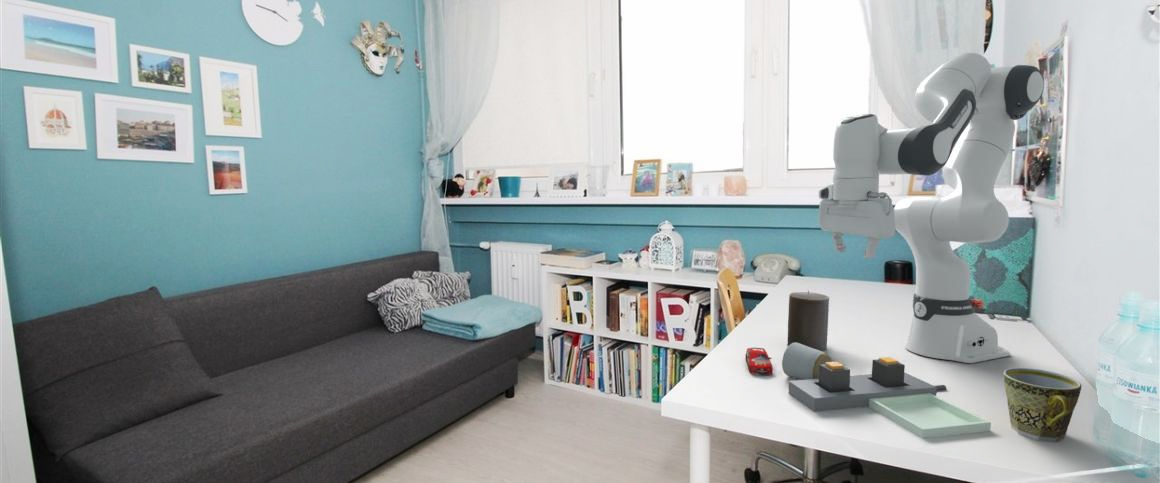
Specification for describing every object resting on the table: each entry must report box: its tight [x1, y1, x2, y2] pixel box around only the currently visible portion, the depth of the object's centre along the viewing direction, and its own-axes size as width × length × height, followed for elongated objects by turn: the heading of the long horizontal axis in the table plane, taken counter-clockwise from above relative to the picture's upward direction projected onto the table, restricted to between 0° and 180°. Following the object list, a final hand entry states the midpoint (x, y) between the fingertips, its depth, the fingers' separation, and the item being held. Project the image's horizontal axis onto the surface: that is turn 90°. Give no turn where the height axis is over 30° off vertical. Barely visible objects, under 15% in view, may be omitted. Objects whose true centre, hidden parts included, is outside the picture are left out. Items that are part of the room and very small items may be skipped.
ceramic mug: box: [781, 343, 833, 380], centre depth 119 cm, size 11×8×8 cm
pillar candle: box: [786, 290, 831, 352], centre depth 141 cm, size 10×10×15 cm
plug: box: [871, 356, 906, 388], centre depth 109 cm, size 4×4×7 cm
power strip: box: [788, 361, 947, 413], centre depth 109 cm, size 32×9×8 cm, turn 99°
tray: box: [868, 393, 992, 439], centre depth 98 cm, size 13×13×2 cm
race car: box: [745, 347, 774, 376], centre depth 128 cm, size 13×5×4 cm, turn 167°
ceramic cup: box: [1003, 367, 1082, 443], centre depth 90 cm, size 13×10×10 cm
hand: (854, 254), depth 118 cm, fingers open, 8 cm apart
